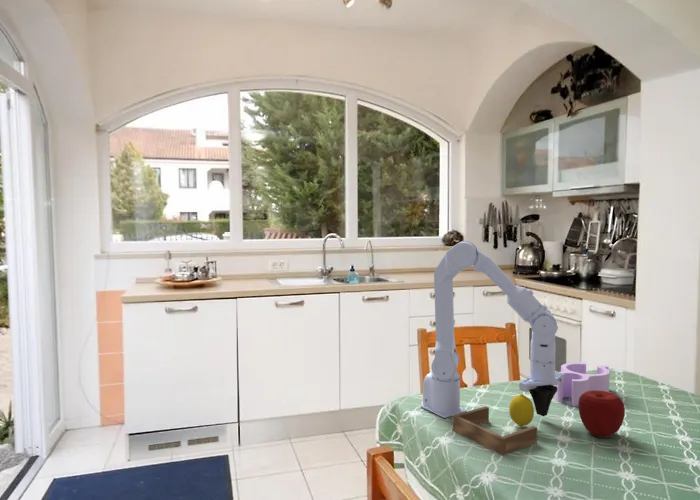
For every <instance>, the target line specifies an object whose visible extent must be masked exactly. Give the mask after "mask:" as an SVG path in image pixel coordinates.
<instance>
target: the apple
mask: <svg viewBox="0 0 700 500" xmlns="http://www.w3.org/2000/svg"><path fill="white" fill-rule="evenodd" d="M577 407H578V413H579V416H580V417H579V418H580V419H581V422H582V423H581V424H583V426H584V428H585V429H586V431H588V433H589V434H591V435H593V436H594V437H597V438H598V437H599V438H610V437H611V436H613V435H615V434H616V433H617V432H618V431H619V430H620V428H621V427H622V425H623V422H624V419H625V413H626V410H625V409H626V408H625V403H624V402H623V400H622V398H620V396H618V395H617V394H616V393H613V392H610V391H609V392H606V391H597V390H593V391H587V392H585V393H583V394H582V395H581V396H580V398H579V402H578V406H577Z"/></svg>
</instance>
